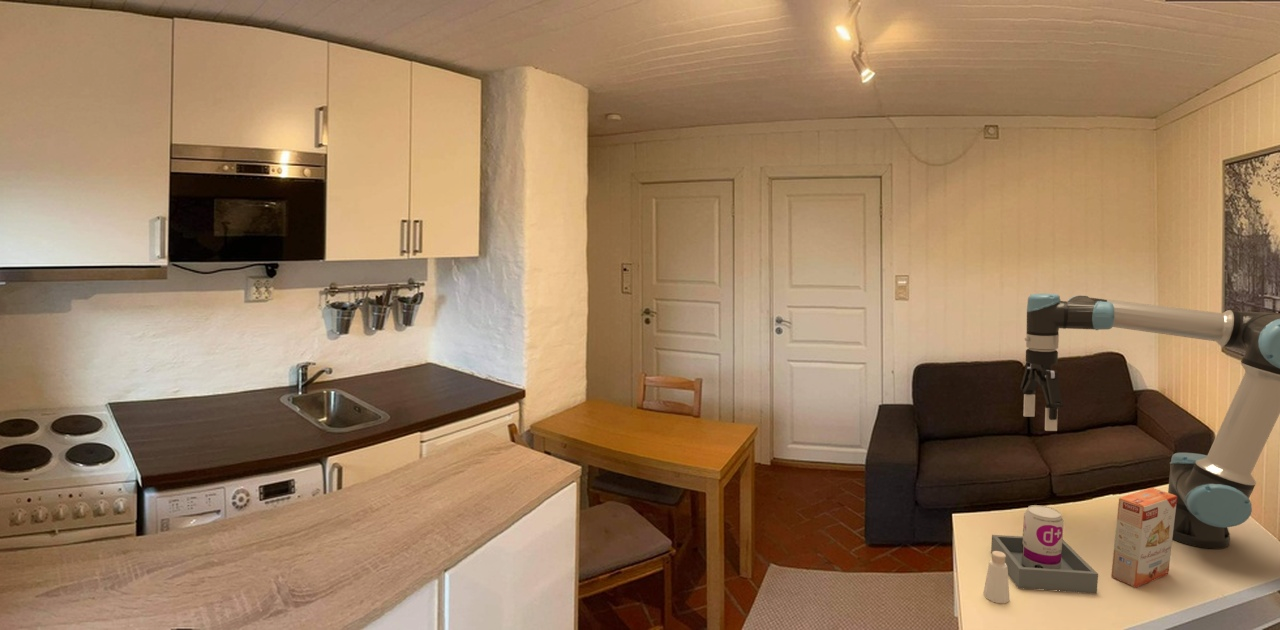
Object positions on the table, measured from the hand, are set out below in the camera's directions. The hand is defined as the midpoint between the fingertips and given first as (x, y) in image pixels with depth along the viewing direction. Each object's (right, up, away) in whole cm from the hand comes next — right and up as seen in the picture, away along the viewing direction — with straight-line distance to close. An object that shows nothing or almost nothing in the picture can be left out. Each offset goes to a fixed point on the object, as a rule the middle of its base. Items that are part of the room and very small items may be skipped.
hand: (1039, 423), depth 174 cm
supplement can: (-12, -33, -19) cm, 40 cm away
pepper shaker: (-29, -36, -29) cm, 55 cm away
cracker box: (+11, -34, -22) cm, 42 cm away
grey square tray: (-12, -34, -19) cm, 41 cm away
